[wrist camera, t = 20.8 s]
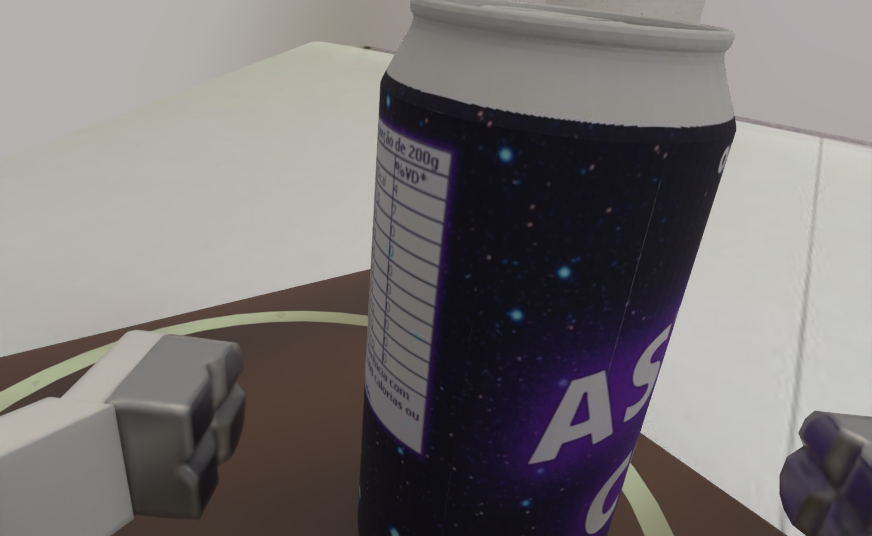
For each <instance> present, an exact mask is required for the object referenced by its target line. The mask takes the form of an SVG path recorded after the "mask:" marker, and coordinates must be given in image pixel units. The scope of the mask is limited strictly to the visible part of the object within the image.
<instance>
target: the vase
mask: <svg viewBox="0 0 872 536" xmlns="http://www.w3.org/2000/svg"><path fill="white" fill-rule="evenodd" d="M545 4H547V5H556V6H565V7H574V8H583V9H592V10H600V11H608V12H616V13H625V14H633V15H640V16H648V17H656V18H663V19H670V20H677V21H684V22H691V23H698V24H699V23H700V19H701V15H702V11H703V8H704V4H705V0H546V3H545Z"/></svg>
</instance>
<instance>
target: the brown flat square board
mask: <svg viewBox="0 0 872 536" xmlns="http://www.w3.org/2000/svg"><path fill="white" fill-rule="evenodd" d="M370 272H371V269H369V270H365V271H360V272H356V273H352V274H348V275H344V276H339V277H335V278H331V279H327V280H323V281H319V282H314V283H310V284H306V285H302V286H298V287H293V288H289V289H285V290H281V291H277V292H272V293H268V294H264V295H260V296H256V297H252V298H247V299H243V300H239V301H235V302H231V303H226V304H222V305H218V306H214V307H210V308H205V309H201V310H197V311H193V312H189V313H185V314H180V315H176V316H172V317H168V318H164V319H159V320H155V321H151V322H147V323H143V324H139V325H134V326H130V327H126V328H122V329H118V330H113V331H109V332H105V333H101V334H97V335H92V336H88V337H84V338H80V339H76V340H72V341H67V342H63V343H59V344H55V345H51V346H46V347H42V348H38V349H34V350H30V351H25V352H21V353H17V354H13V355H9V356H5V357H0V416H2V415H5V414H7V413H10V412H12V411H15V410H17V409H20V408H22V407H25V406H27V405H30V404H32V403H35V402H37V401H40V400H42V399H45V398H47V397H55V398H61V397H62V396H63V395H64V394H65V393H66V392H67V391H68V390H69V389H70V388H71V387H72V386H73V385H74V384H75V383H76V382H77V381H78V380H79V379H80V378H81V377H82V376H83V375H84V374H85V373H86V372H87V371H88V370H89V369H90V368H91V367H92V366H93V365H94V364H95V363H96V362H97V361H98V360H99V359H100V358H101V357H102V356H103V355H104V354H105V353H106V352H107V351H108V350H109V349H110V348H111V347H112V346H113V345H114V344H115V343H116V342H117V341H118V340H119V339H120V338H121V337H122V336H123V335H124V334H125V333H127V332H129V331H133V330H143V331H151V332H160V333H166V334H176V335H183V336H190V337H197V338H205V339H212V340H219V341H227V342H234V343H238V344H239V346H240V347H241V348H242V354H243V365H244V369H243V371H242V372H241V374H240V376H239V377H238V379H237V381H236V383H237V384H238V385H239V386H240V388H241V389H242V390H243V391H244V392H245V399H246V411H245V421H244V426H243V430H242V433H241V437H240V441H239V444H238V446H237V448H236V450H235V452H234V454H233V456H232V458H231V459H229V460H227V461H226V462H224V463H223V464H221V465H219V466H218V475H219V483H218V485H217V487H216V489H215V491H214V493H213V495H212V497H211V499H210V501H209V502H208V504H207V506H206V508H205V510H204V512H203V514H202V516H201V518H200V520H199V521H194V520H183V519H173V518H162V517H151V516H140V515H134V519H133V520H132V521H130V522H129V523H128V524H126V525H125V526H123V527H122V528H121V529H119V530H118V531H117V532H115V533H114V534H113V535H111V536H359V532H358V522H357V521H358V497H359V479H360V460H361V441H362V422H363V403H364V385H365V366H366V347H367V328H368V309H369V291H370ZM607 536H787V535H786V534H784V533H783V532H781V531H780V530H778V529H777V528H776V527H774V526H773V525H771V524H770V523H768V522H767V521H766V520H764V519H763V518H761V517H760V516H758V515H757V514H756V513H754V512H753V511H751V510H750V509H748V508H747V507H746V506H744V505H743V504H741V503H740V502H738V501H737V500H736V499H734V498H733V497H731V496H730V495H728V494H727V493H726V492H724V491H723V490H721V489H720V488H719V487H717V486H716V485H714V484H713V483H711V482H710V481H709V480H707V479H706V478H704V477H703V476H701V475H700V474H699V473H697V472H696V471H694V470H693V469H691V468H690V467H689V466H687V465H686V464H684V463H683V462H681V461H680V460H679V459H677V458H676V457H674V456H673V455H671V454H670V453H669V452H667V451H666V450H664V449H663V448H661V447H660V446H659V445H657V444H656V443H654V442H653V441H651V440H650V439H649V438H647V437H646V436H644V435H643V434H641V433H640V434H639V437H638V440H637V443H636V446H635V450H634V453H633V456H632V459H631V462H630V465H629V468H628V472H627V475H626V478H625V481H624V484H623V487H622V490H621V494H620V497H619V500H618V503H617V506H616V509H615V512H614V516H613V519H612V522H611V525H610V528H609V531H608V534H607Z"/></svg>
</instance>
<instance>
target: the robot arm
mask: <svg viewBox="0 0 872 536" xmlns="http://www.w3.org/2000/svg"><path fill="white" fill-rule="evenodd" d="M243 369H244V365H243V354H242V348H241V347H240V346H239V344H238V343H234V342H227V341H219V340H212V339H205V338H197V337H190V336H183V335H176V334H166V333H160V332H151V331H143V330H133V331H129V332H127V333H125V334H124V335H123V336H122V337H121V338H120V339H119V340H118V341H117V342H116V343H115V344H114V345H113V346H112V347H111V348H110V349H109V350H108V351H107V352H106V353H105V354H104V355H103V356H102V357H101V358H100V359H99V360H98V361H97V362H96V363H95V364H94V365H93V366H92V367H91V368H90V369H89V370H88V371H87V372H86V373H85V374H84V375H83V376H82V377H81V378H80V379H79V380H78V381H77V382H76V383H75V384H74V385H73V386H72V387H71V388H70V389H69V390H68V391H67V392H66V393H65V394H64V395H63V396H62V397H61V398H55V397H47V398H45V399H42V400H40V401H37V402H35V403H32V404H30V405H27V406H25V407H22V408H20V409H17V410H15V411H12V412H10V413H7V414H5V415H2V416H0V536H111V535H113V534H114V533H115V532H117V531H118V530H119V529H121V528H122V527H123V526H125V525H126V524H128V523H129V522H130V521H132V520H133V519H134V515H140V516H151V517H162V518H173V519H183V520H194V521H199V520H200V518H201V516H202V514H203V512H204V510H205V508H206V506H207V504H208V502H209V501H210V499H211V497H212V495H213V493H214V491H215V489H216V487H217V485H218V483H219V475H218V466H219V465H221V464H223V463H224V462H226V461H227V460H229V459H231V458H232V456H233V454H234V452H235V450H236V448H237V446H238V444H239V441H240V437H241V433H242V430H243V426H244V421H245V411H246V399H245V392H244V391H243V390H242V389H241V388H240V386H239V385H238V384H237V383H236V381H237V379H238V377H239V376H240V374H241V372H242V371H243ZM799 436H800V438H801V441H802V443H803V447H801V448H800V449H798V450H797V451H795V452H794V453H792V454H791V455H789V456H788V457H787V458H786V461H785V463H784V466H783V468H782V471H781V473H780V498H781V501H782V505H783V508H784V511H785V512H786V514H787V516H788V518H789V520H790V522H791V523H792V525H793V526H795V527H796V528H797V529H798V530H800V531H801V532H802V533H803V534H805V535H806V536H872V417H868V416H859V415H849V414H840V413H830V412H821V411H814V412H813V413H812V414H810V415H809V416H808V417H807V418H806V419H805V420H804V423H803V425H802V427H801V429H800V431H799Z"/></svg>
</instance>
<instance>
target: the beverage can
mask: <svg viewBox="0 0 872 536" xmlns="http://www.w3.org/2000/svg"><path fill="white" fill-rule="evenodd" d="M410 3H411V4H410V6H411V7H410V8H411V11H412V13H413V16H414V18H413V21H412V24H411V26H410V29H409V30H408V32H407V34H406V36H405V38H404V39H403V41H402V43H401V45H400V46H399V48H398V50H397V52H396V54H395V55H394V57H393V59H392V61H391V62H390V64H389V66H388V68H387V70H386V71H385V73H384V75H383V78H382V80H381V84H380V103H379V122H378V140H377V159H376V178H375V197H374V215H373V234H372V253H371V272H370V291H369V309H368V328H367V347H366V366H365V385H364V403H363V422H362V441H361V460H360V479H359V497H358V521H357V522H358V532H359V536H607V534H608V531H609V528H610V525H611V522H612V519H613V516H614V512H615V509H616V506H617V503H618V500H619V497H620V494H621V490H622V487H623V484H624V481H625V478H626V475H627V472H628V468H629V465H630V462H631V459H632V456H633V453H634V450H635V446H636V443H637V440H638V437H639V434H640V431H641V428H642V424H643V421H644V418H645V415H646V412H647V409H648V406H649V403H650V399H651V396H652V393H653V390H654V387H655V384H656V381H657V377H658V374H659V371H660V368H661V365H662V362H663V359H664V355H665V352H666V349H667V346H668V343H669V340H670V337H671V333H672V330H673V327H674V324H675V321H676V318H677V315H678V311H679V308H680V305H681V302H682V299H683V296H684V293H685V289H686V286H687V283H688V280H689V277H690V274H691V271H692V267H693V264H694V261H695V258H696V255H697V252H698V249H699V245H700V242H701V239H702V236H703V233H704V230H705V227H706V223H707V220H708V217H709V214H710V211H711V208H712V205H713V201H714V198H715V195H716V192H717V189H718V186H719V183H720V179H721V176H722V173H723V170H724V167H725V164H726V161H727V157H728V154H729V151H730V148H731V145H732V142H733V139H734V135H735V132H736V122H735V116H734V111H733V106H732V101H731V96H730V91H729V86H728V81H727V76H726V69H725V63H724V54H725V52H726V50H728V49H729V48H730V47H731V45H732V43H733V40H734V33H733V31H732V30H728V29H724V28H721V27H715V26H709V25H703V24H698V23H691V22H684V21H677V20H670V19H663V18H656V17H648V16H640V15H633V14H625V13H616V12H608V11H600V10H592V9H583V8H574V7H565V6H556V5H547V4H536V3H527V2H517V1H507V0H411V2H410Z"/></svg>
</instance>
